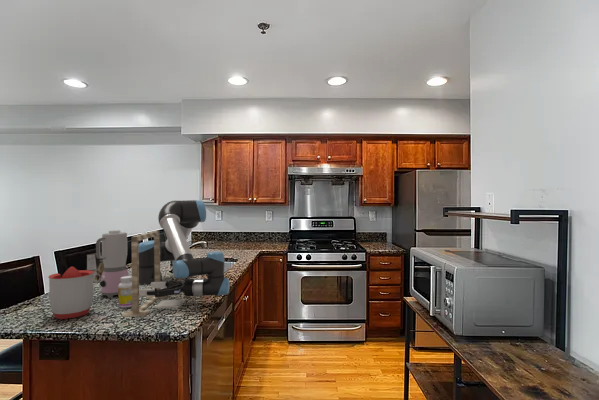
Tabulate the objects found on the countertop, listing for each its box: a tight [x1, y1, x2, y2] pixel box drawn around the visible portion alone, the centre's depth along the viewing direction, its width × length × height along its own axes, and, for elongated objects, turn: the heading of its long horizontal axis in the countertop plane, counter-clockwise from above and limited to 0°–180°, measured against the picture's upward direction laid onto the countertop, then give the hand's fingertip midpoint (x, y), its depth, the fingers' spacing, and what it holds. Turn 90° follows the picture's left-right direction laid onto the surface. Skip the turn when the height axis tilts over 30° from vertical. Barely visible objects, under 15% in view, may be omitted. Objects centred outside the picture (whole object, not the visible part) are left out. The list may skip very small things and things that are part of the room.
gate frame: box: [121, 230, 169, 318], centre depth 154 cm, size 30×9×32 cm, turn 4°
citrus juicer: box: [48, 266, 94, 320], centre depth 142 cm, size 16×17×20 cm
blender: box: [95, 229, 130, 299], centre depth 172 cm, size 16×12×32 cm
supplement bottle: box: [117, 275, 132, 309], centre depth 154 cm, size 7×7×13 cm
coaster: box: [154, 298, 186, 309], centre depth 155 cm, size 10×10×1 cm
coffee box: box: [86, 252, 104, 283], centre depth 205 cm, size 9×6×16 cm
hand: (145, 288), depth 154 cm, fingers open, 13 cm apart
